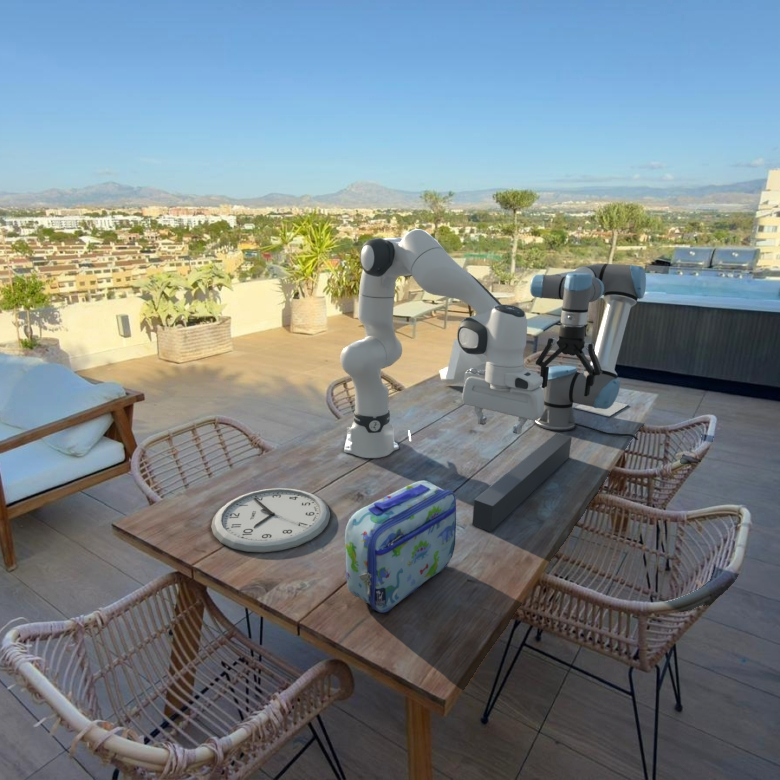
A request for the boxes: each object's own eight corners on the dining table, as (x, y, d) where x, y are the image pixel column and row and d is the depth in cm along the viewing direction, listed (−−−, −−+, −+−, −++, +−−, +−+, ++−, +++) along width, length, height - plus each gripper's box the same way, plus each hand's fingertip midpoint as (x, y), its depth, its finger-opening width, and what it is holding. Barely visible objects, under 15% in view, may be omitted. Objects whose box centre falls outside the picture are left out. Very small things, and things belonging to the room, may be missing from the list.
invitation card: (608, 416, 214) (573, 407, 224) (608, 416, 214) (573, 408, 224) (628, 404, 229) (594, 396, 238) (628, 405, 229) (594, 397, 238)
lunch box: (374, 626, 100) (375, 530, 93) (338, 598, 107) (337, 508, 101) (459, 568, 117) (465, 484, 111) (424, 547, 124) (427, 467, 118)
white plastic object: (461, 429, 252) (437, 405, 227) (444, 352, 274) (420, 323, 250) (535, 404, 240) (518, 377, 215) (510, 326, 262) (492, 293, 237)
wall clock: (328, 544, 122) (196, 548, 120) (328, 550, 123) (197, 554, 120) (331, 483, 151) (225, 486, 148) (331, 488, 151) (225, 491, 149)
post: (553, 453, 179) (556, 433, 176) (569, 457, 176) (571, 437, 173) (472, 524, 135) (474, 499, 132) (490, 531, 132) (492, 506, 129)
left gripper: (459, 369, 128) (456, 422, 132) (539, 385, 117) (533, 442, 121) (471, 364, 133) (468, 415, 137) (549, 379, 121) (543, 434, 126)
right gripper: (529, 321, 164) (523, 386, 170) (612, 331, 150) (602, 401, 156) (538, 318, 170) (532, 381, 176) (619, 328, 156) (608, 396, 162)
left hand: (499, 428), depth 129 cm, fingers open, 8 cm apart
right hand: (564, 391), depth 166 cm, fingers open, 13 cm apart
